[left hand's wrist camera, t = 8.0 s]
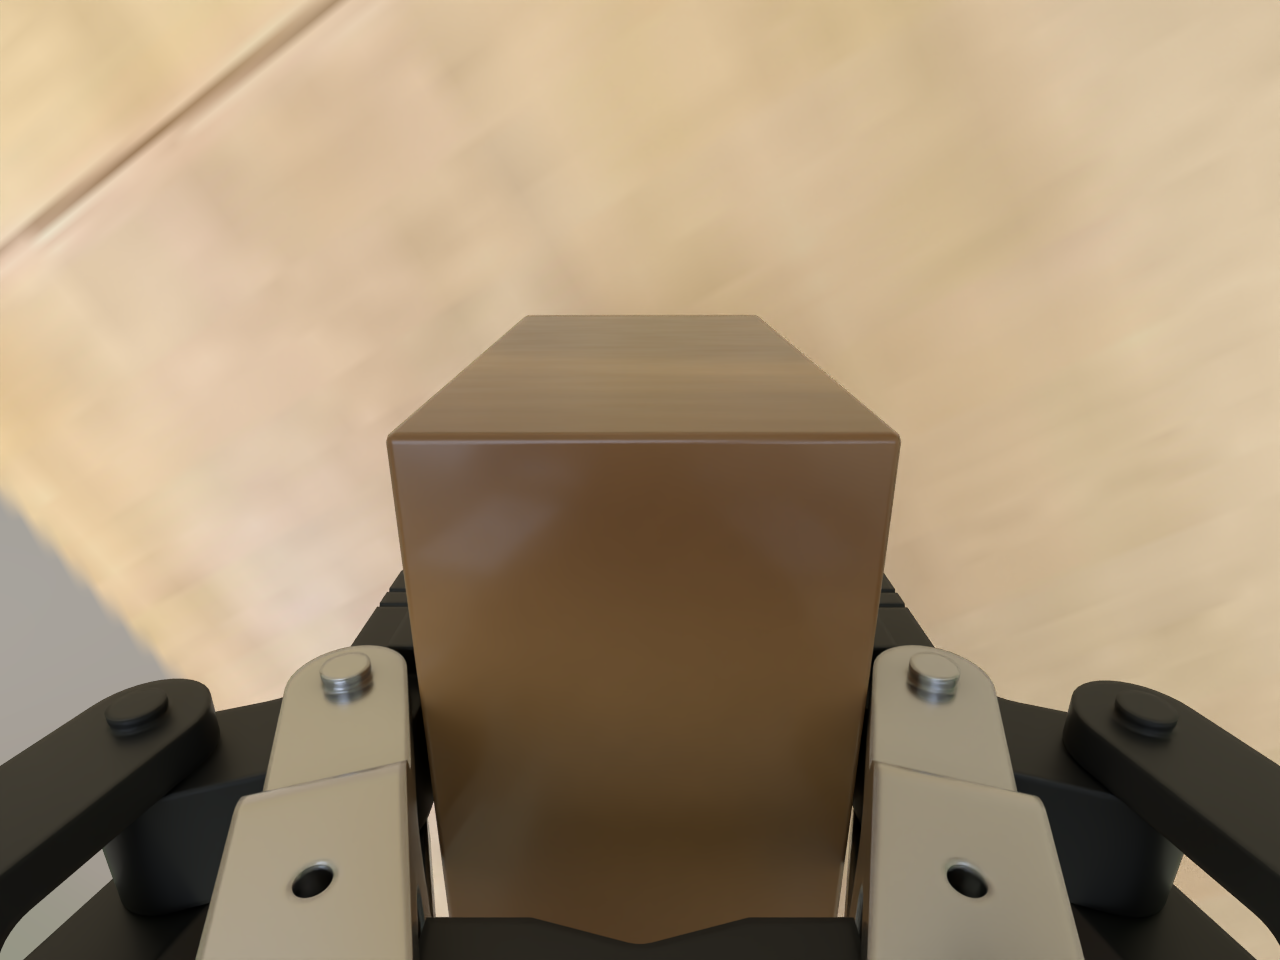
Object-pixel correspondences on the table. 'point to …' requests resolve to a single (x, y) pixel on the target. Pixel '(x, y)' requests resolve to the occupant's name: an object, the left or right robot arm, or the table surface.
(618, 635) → the bar
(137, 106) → the table surface
